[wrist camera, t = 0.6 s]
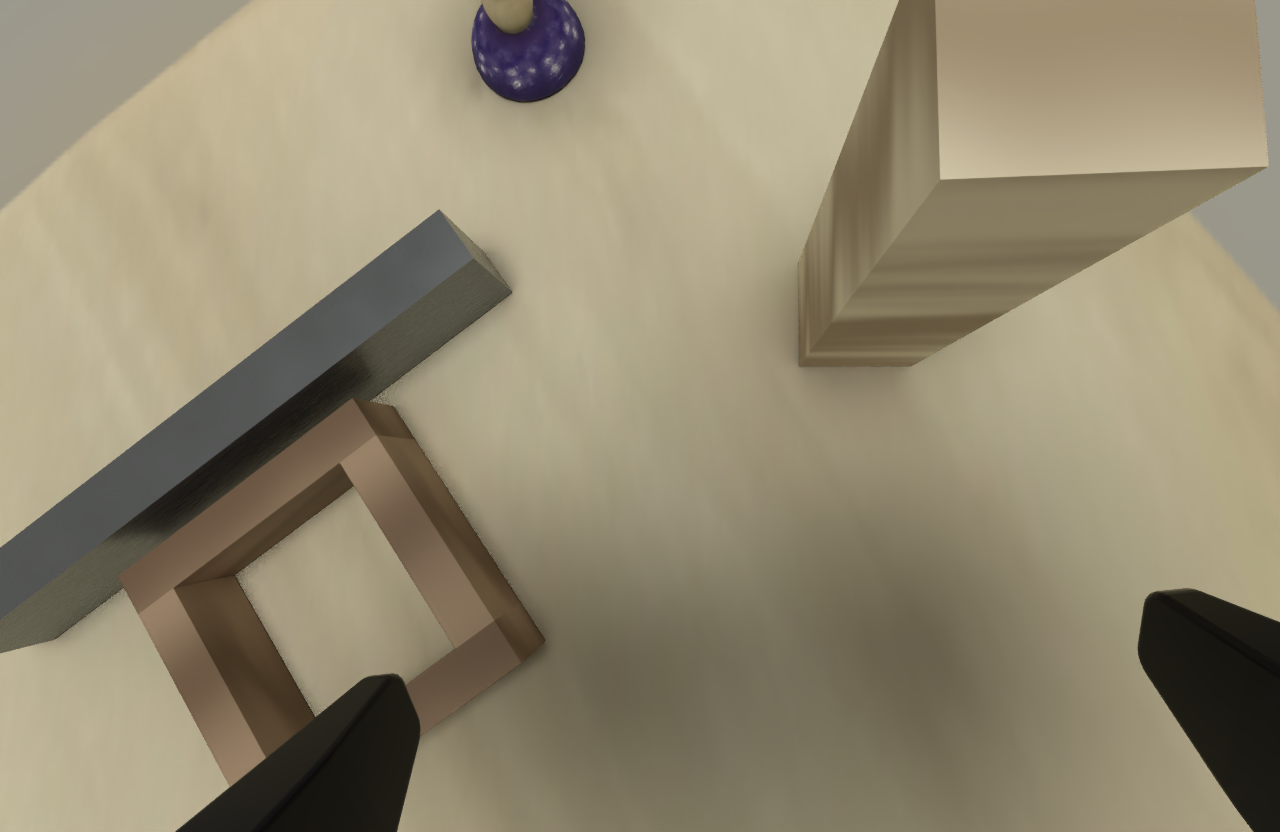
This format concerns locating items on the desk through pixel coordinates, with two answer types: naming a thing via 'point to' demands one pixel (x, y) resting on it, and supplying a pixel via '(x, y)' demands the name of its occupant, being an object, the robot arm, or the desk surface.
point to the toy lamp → (527, 46)
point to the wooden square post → (1019, 160)
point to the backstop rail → (244, 425)
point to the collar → (266, 513)
